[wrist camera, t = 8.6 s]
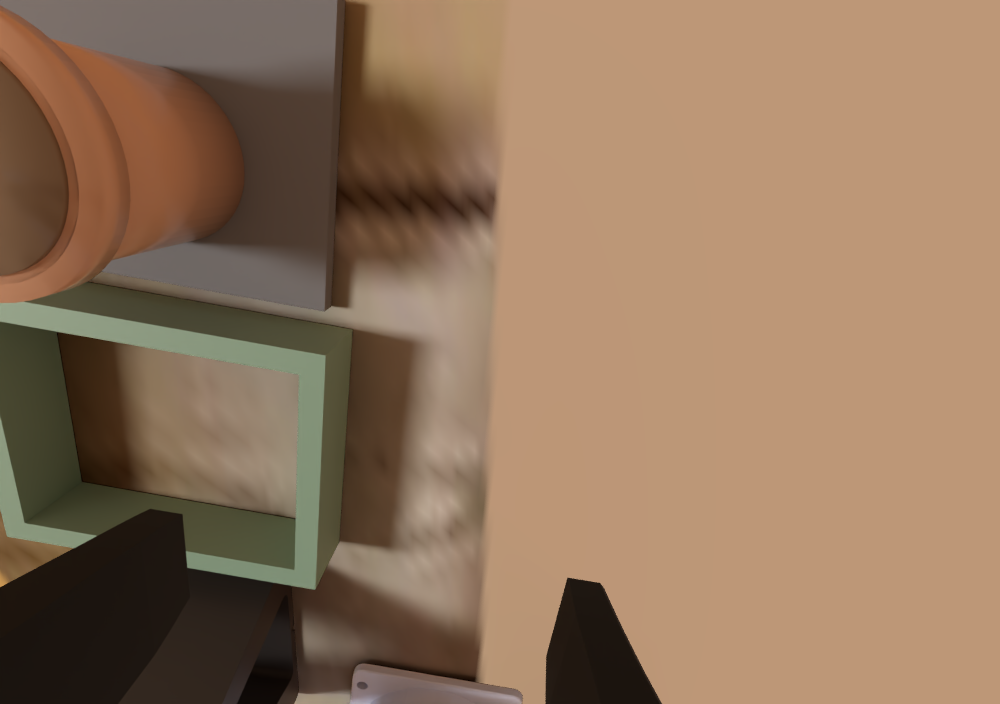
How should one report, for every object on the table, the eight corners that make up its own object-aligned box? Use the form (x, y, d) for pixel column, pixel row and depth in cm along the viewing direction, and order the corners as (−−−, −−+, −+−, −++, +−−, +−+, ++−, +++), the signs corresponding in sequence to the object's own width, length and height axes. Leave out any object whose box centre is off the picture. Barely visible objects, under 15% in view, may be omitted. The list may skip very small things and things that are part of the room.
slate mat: (331, 306, 17) (324, 311, 17) (43, 254, 17) (27, 258, 16) (345, 0, 14) (337, -6, 13) (-11, -66, 14) (-34, -75, 13)
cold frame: (339, 541, 21) (315, 590, 19) (65, 494, 21) (7, 536, 18) (352, 329, 17) (325, 355, 15) (23, 270, 17) (-55, 288, 15)
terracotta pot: (258, 268, 16) (110, 327, 10) (81, 236, 16) (-165, 278, 10) (256, 68, 14) (69, 5, 8) (53, 30, 14) (-275, -59, 8)
